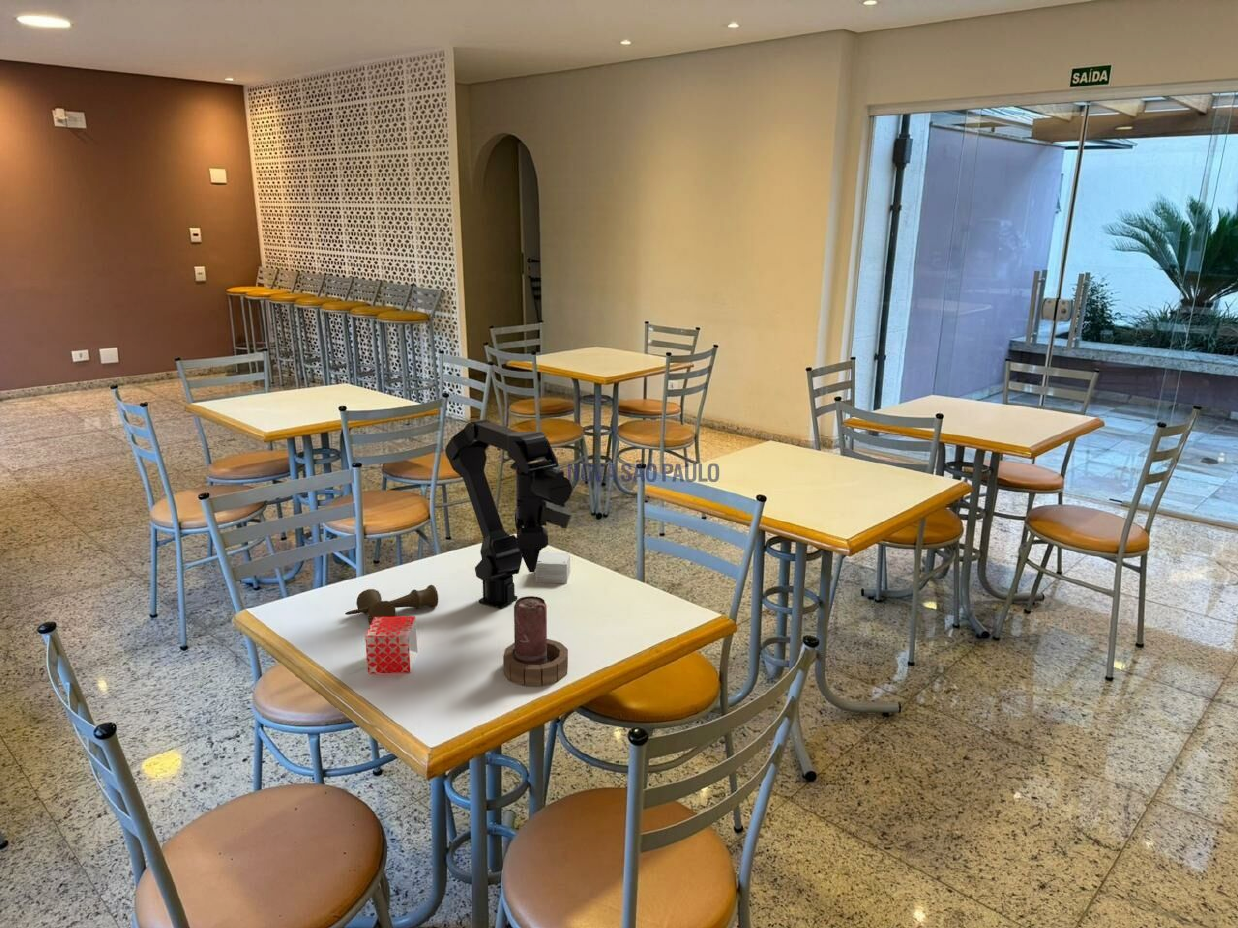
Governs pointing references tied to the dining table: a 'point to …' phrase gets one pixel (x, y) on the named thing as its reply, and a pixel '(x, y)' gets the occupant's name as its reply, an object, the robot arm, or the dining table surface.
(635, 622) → the dining table surface
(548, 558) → the small box
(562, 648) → the walnut ring
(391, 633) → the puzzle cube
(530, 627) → the can
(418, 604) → the kendama
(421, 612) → the dining table surface
